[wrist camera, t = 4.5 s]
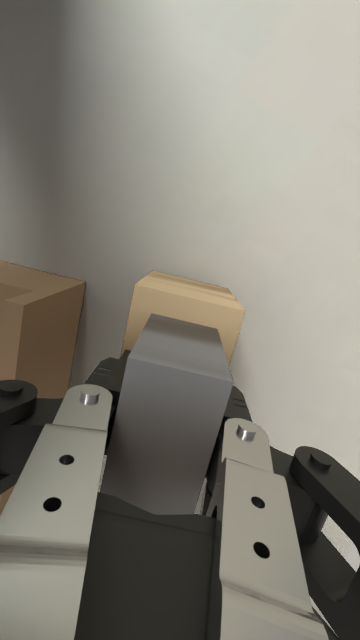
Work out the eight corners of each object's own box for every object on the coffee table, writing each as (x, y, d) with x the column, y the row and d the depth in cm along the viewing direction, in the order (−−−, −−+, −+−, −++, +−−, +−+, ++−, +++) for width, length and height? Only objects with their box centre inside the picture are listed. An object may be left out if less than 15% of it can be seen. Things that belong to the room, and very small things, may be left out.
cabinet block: (152, 270, 18) (99, 311, 8) (228, 288, 18) (279, 354, 8) (129, 376, 20) (61, 531, 9) (199, 392, 20) (208, 563, 10)
